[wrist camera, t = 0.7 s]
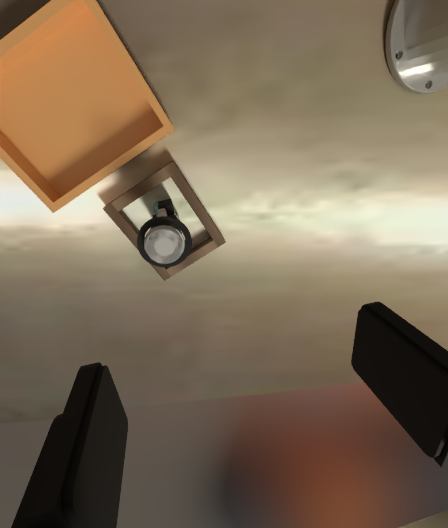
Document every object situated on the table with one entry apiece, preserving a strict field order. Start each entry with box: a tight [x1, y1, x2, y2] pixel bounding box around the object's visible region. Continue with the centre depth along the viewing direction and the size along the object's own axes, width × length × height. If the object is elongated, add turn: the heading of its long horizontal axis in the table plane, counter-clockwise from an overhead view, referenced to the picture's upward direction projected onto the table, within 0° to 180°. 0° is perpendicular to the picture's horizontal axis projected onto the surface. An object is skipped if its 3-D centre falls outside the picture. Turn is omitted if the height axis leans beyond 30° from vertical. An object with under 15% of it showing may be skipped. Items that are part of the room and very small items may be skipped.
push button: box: [137, 199, 192, 267], centre depth 31 cm, size 7×5×10 cm
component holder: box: [103, 161, 226, 281], centre depth 34 cm, size 10×12×2 cm
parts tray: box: [0, 0, 175, 213], centre depth 27 cm, size 16×13×3 cm
